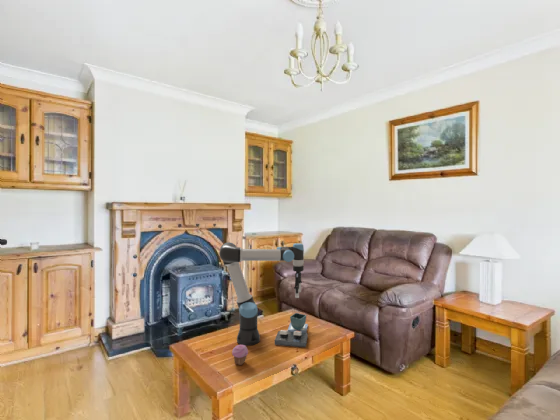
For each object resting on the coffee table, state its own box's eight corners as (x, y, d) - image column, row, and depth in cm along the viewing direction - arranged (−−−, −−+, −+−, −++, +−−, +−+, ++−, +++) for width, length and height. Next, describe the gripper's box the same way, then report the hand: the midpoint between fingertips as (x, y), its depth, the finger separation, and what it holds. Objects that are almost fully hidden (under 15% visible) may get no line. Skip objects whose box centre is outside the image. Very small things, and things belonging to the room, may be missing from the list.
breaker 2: (293, 335, 195) (293, 331, 196) (294, 334, 203) (295, 330, 203) (300, 335, 194) (300, 331, 195) (301, 334, 202) (301, 331, 203)
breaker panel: (274, 344, 194) (274, 338, 194) (278, 335, 208) (278, 329, 208) (305, 347, 191) (305, 340, 191) (307, 337, 205) (307, 331, 205)
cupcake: (229, 364, 171) (229, 346, 171) (238, 357, 178) (238, 340, 178) (241, 368, 166) (241, 350, 166) (251, 361, 174) (251, 344, 174)
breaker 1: (279, 334, 197) (279, 330, 197) (281, 333, 204) (281, 329, 205) (286, 334, 196) (286, 330, 197) (288, 333, 203) (288, 330, 204)
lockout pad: (287, 332, 214) (287, 329, 214) (290, 324, 226) (290, 322, 226) (306, 333, 211) (306, 331, 211) (307, 325, 224) (307, 323, 224)
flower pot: (300, 332, 210) (300, 319, 210) (289, 329, 215) (289, 316, 214) (306, 327, 217) (306, 315, 217) (295, 324, 222) (295, 312, 222)
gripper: (301, 269, 205) (301, 300, 205) (305, 262, 229) (304, 290, 230) (290, 268, 206) (290, 299, 207) (295, 261, 231) (295, 289, 231)
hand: (298, 294), depth 218 cm, fingers open, 13 cm apart
